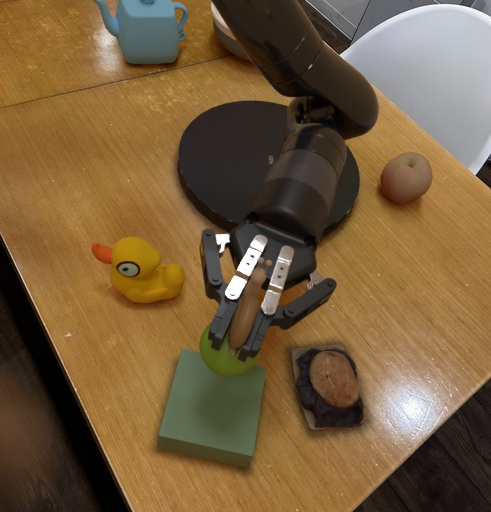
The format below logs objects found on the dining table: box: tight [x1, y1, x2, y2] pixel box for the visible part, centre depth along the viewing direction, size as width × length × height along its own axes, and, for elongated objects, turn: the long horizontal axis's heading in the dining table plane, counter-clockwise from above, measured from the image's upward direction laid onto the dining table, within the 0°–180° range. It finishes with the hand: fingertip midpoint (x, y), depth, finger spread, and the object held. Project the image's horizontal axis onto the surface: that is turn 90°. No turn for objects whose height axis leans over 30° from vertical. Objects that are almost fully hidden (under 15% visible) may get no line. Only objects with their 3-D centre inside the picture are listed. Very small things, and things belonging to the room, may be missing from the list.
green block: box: [156, 347, 267, 469], centre depth 56 cm, size 10×10×5 cm
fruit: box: [379, 151, 434, 204], centre depth 82 cm, size 8×8×8 cm
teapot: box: [92, 0, 189, 65], centre depth 92 cm, size 12×18×12 cm
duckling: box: [90, 236, 186, 304], centre depth 62 cm, size 11×5×10 cm, turn 86°
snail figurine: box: [199, 257, 272, 377], centre depth 42 cm, size 5×6×12 cm
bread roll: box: [290, 343, 366, 433], centre depth 61 cm, size 11×8×4 cm
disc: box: [176, 99, 361, 238], centre depth 81 cm, size 30×30×3 cm
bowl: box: [210, 2, 253, 63], centre depth 100 cm, size 19×19×8 cm
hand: (229, 350), depth 39 cm, fingers closed on snail figurine
